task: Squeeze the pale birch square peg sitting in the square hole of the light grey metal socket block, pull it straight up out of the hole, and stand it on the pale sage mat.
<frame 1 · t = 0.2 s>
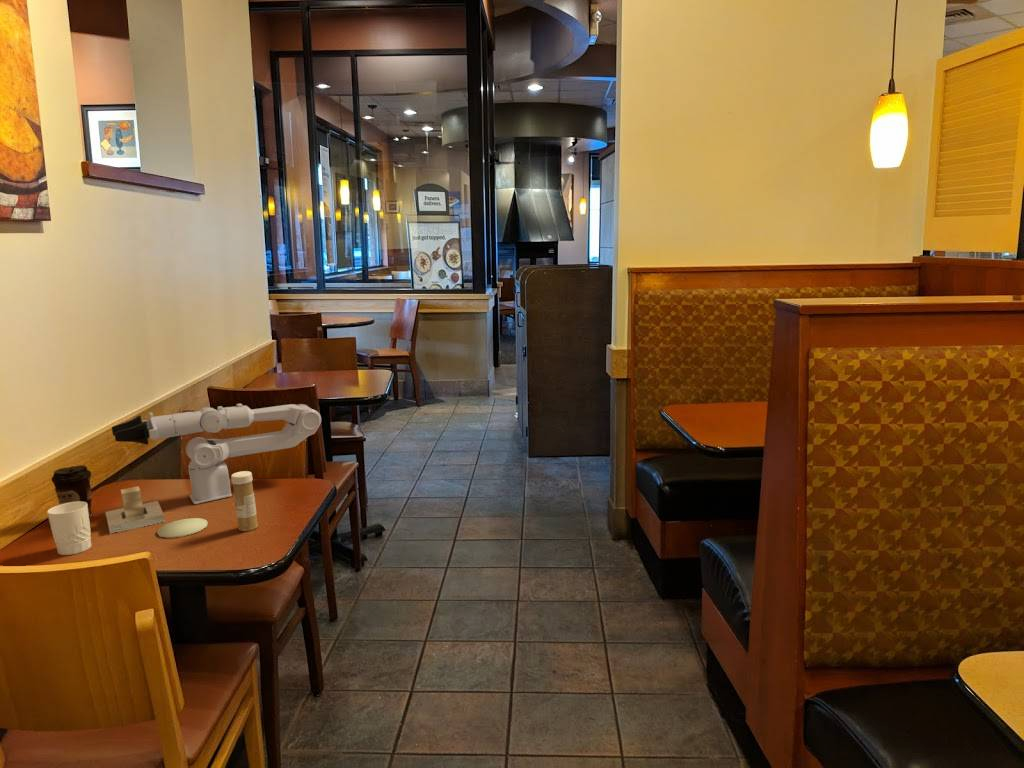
hand: (113, 434, 188), 21 cm above the table, tool horizontal, fingers open, 7 cm apart
coffee cup: (78, 519, 192), on the table
mat: (182, 528, 181), on the table
sprinkles bottle: (248, 529, 179), on the table
socket block: (135, 520, 188), on the table
white cup: (75, 550, 172), on the table
square peg: (132, 505, 187), in the socket block
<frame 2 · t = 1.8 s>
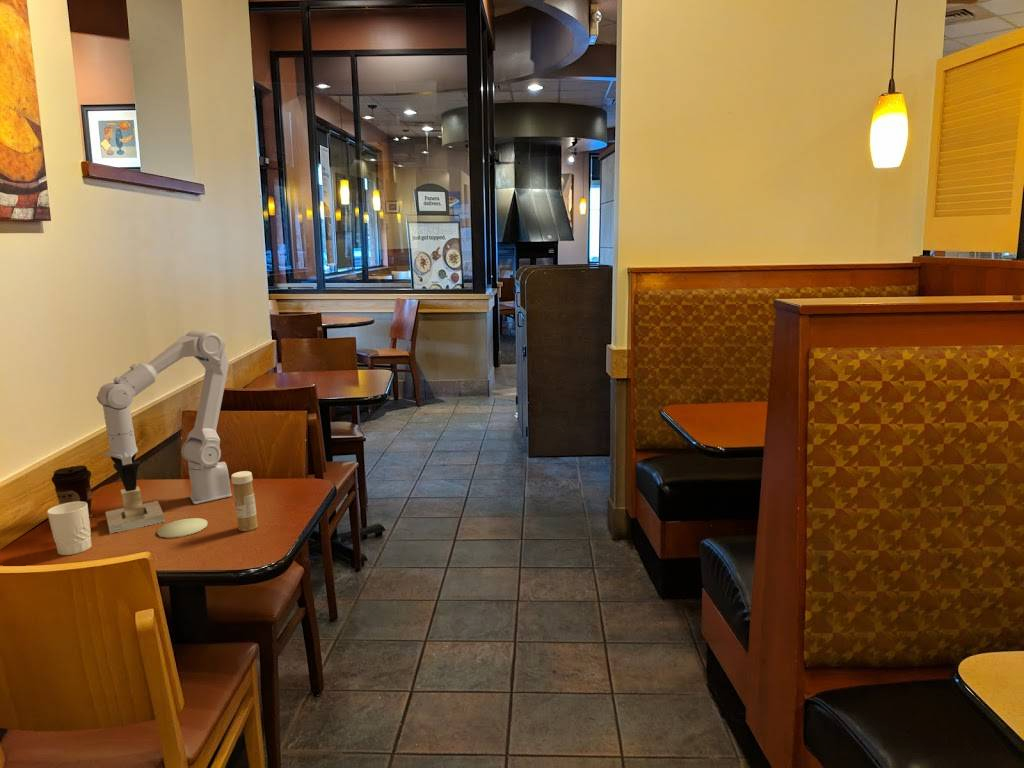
hand: (129, 486, 186), 9 cm above the table, tool pointing down, fingers open, 7 cm apart
nothing on the table moved.
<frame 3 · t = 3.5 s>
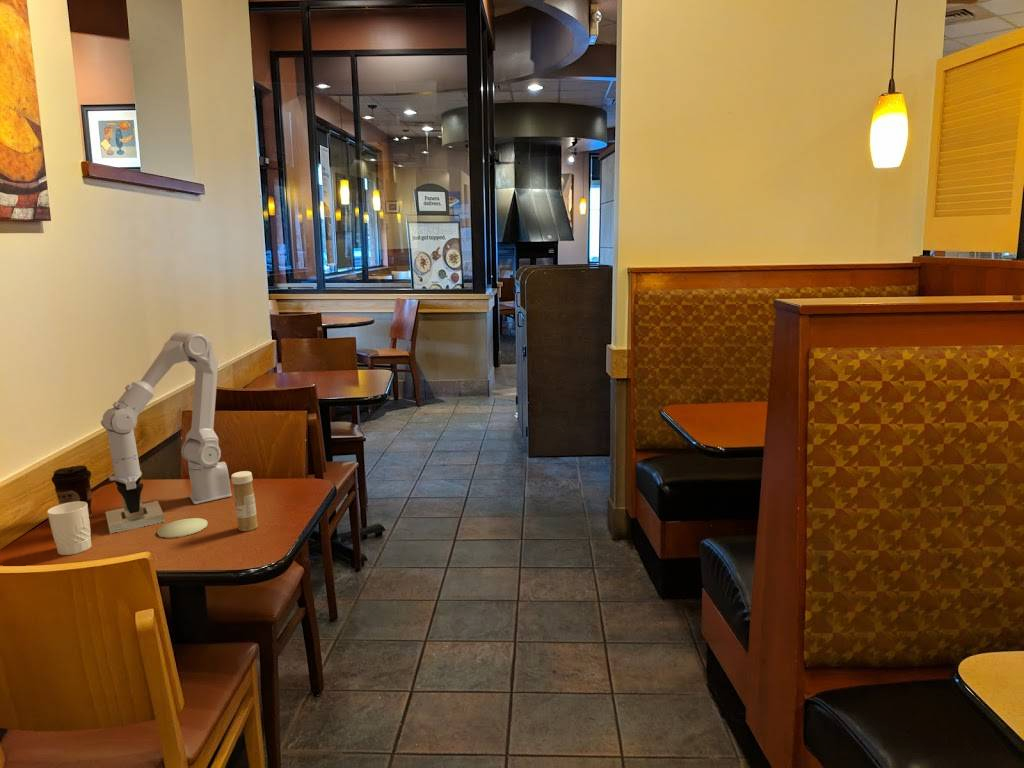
hand: (133, 509, 188), 3 cm above the table, tool pointing down, fingers closed on square peg, 4 cm apart
square peg: (132, 505, 187), in the socket block, touching gripper
everything else where it was.
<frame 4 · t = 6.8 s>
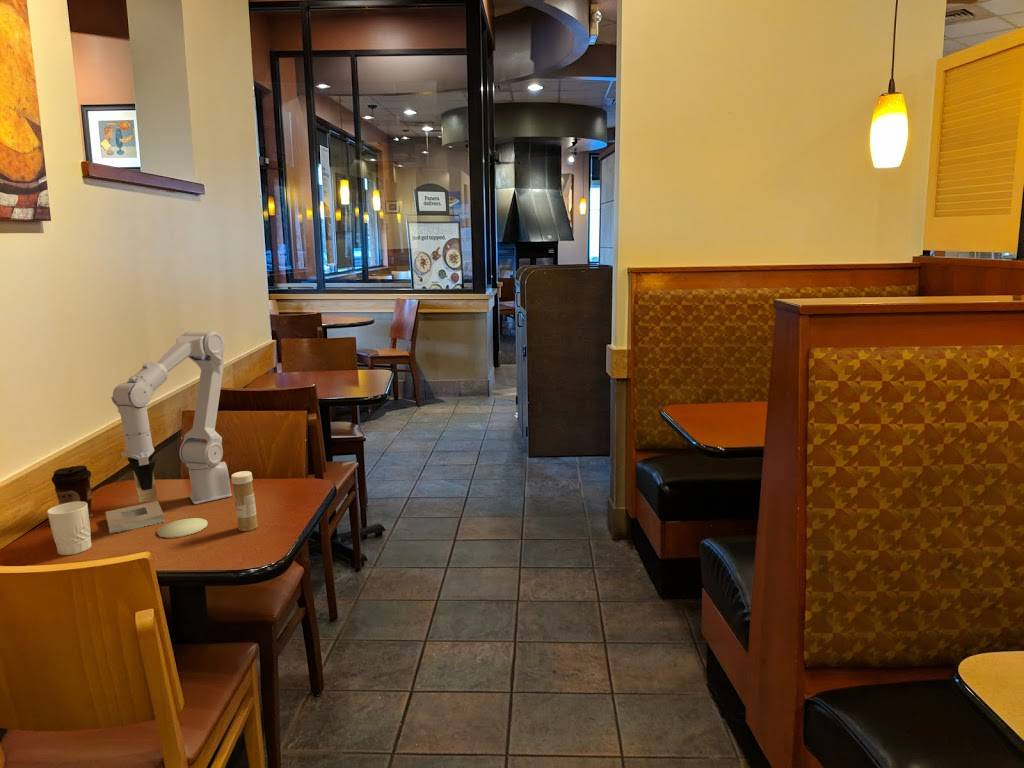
hand: (146, 486, 184), 9 cm above the table, tool pointing down, fingers closed on square peg, 4 cm apart
square peg: (145, 482, 183), point 10 cm above the table, touching gripper
everything else where it was.
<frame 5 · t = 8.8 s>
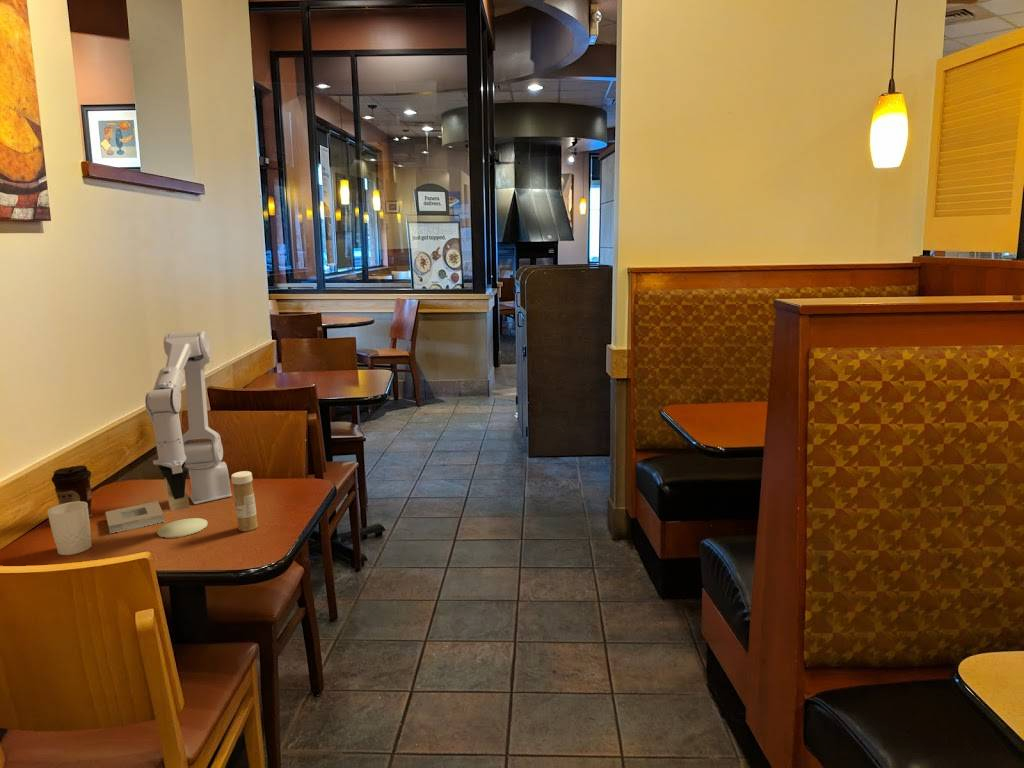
hand: (177, 495, 179), 8 cm above the table, tool pointing down, fingers closed on square peg, 4 cm apart
square peg: (176, 491, 179), point 9 cm above the table, touching gripper
everything else where it was.
when the fingers open (4 cm above the table, at t = 10.4 s): square peg stays where it is, resting on mat.
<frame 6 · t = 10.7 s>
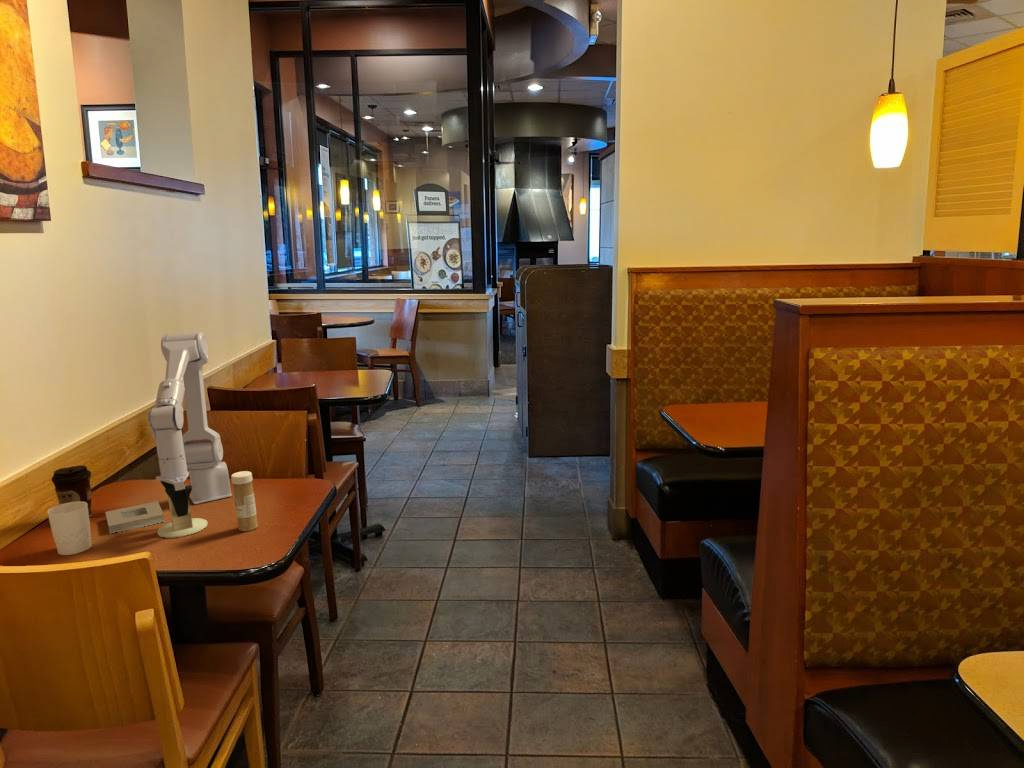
hand: (180, 511, 180), 4 cm above the table, tool pointing down, fingers open, 6 cm apart
square peg: (180, 510, 180), on the mat
everything else where it was.
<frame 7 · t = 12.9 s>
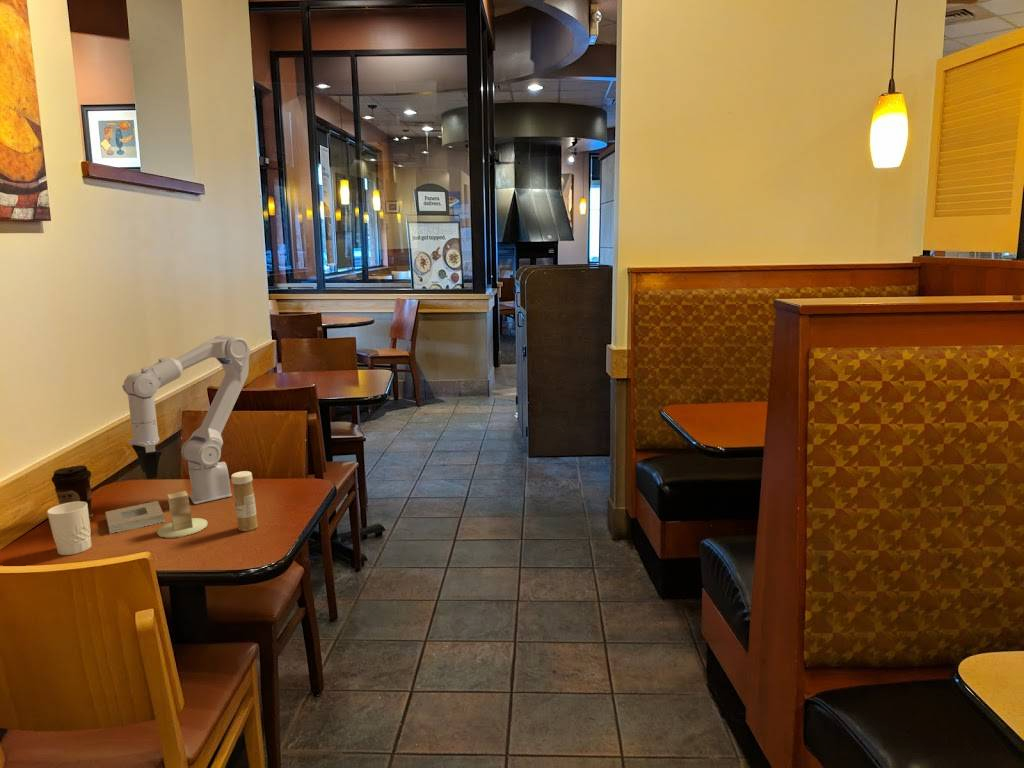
hand: (149, 474, 190), 10 cm above the table, tool pointing down, fingers open, 7 cm apart
nothing on the table moved.
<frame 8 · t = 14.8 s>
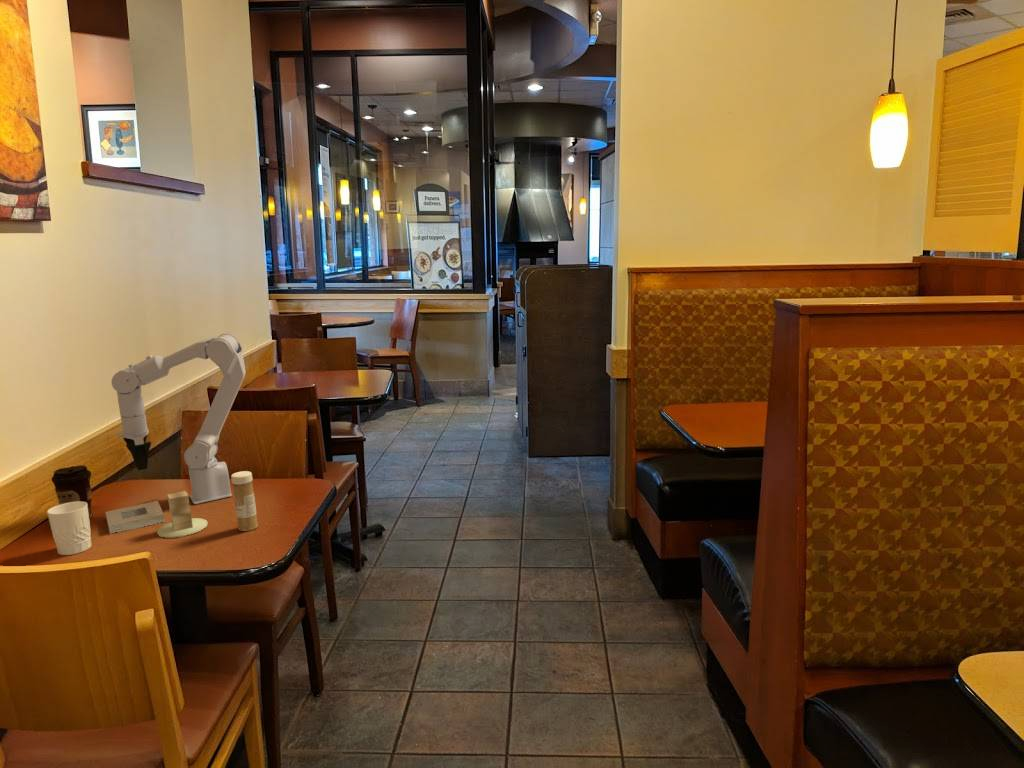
hand: (140, 465, 198), 10 cm above the table, tool pointing down, fingers open, 7 cm apart
nothing on the table moved.
at the end: square peg 0.0 cm off-centre on the mat, point 4.5 cm above the mat's base; square peg tilted 0°; the gripper is holding nothing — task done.
